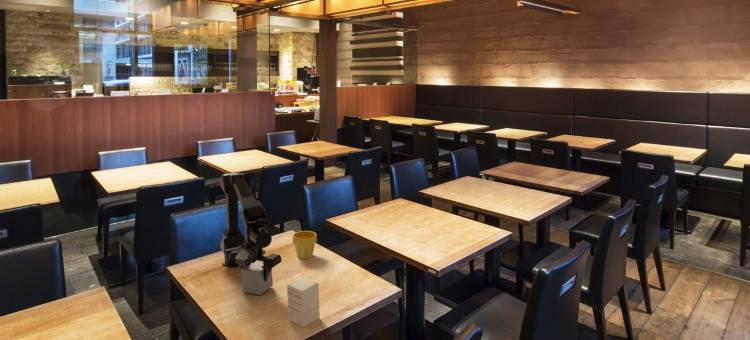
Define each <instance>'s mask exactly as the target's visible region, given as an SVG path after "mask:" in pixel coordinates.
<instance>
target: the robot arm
mask: <svg viewBox="0 0 750 340" xmlns="http://www.w3.org/2000/svg"><path fill="white" fill-rule="evenodd" d="M219 186H220V188H221V189H222V191H223V192H224V194H225V209H226V210H225V211H226V213H225V214H226V228H225V229H224V231H223V233H222V238H221V241H220V244H219V246H220V250H221V252H222V253H223V254H224V262H223V263H222V265H223V266H228V267H233V268H236V267H237V266H238V267H239V266H240V268H241V269H242V268H244V267H248V266H249V265H250V264H251V263H255V261H259V262H263V266H262V268H263V270H264V281H265V282H266V281H267V280H268V277H269V275H270V272H271V270H272V269H273V268H275V267H276V266H278V265H279V264H280V263H282V256H281V255H280V254H277V253H270V254H268V255H264V254H266V250H265V248H267V247H268V246H270V245H271V243H272V240H273V237H272V235H271V234H270V232H268V231H267V229H266V227H265V226H269V218H268V215H267V212H266V209H265V208H264V206H263V205H262V204H261V202H260V201H259V200H257V199H256V198H254V196H253V194H252V192H251V189H250V188H249V185H248V184H247V181H246V175H245V174H244V173H241V172H240V173H239V172H238V171H237V172H231V173H223V174H221V176H220V177H219ZM239 202H240V206H241V209H240V218H241V220H242V223H243V225H244V228H245V229H244V230H245V236H244V233H243V232H242V231H241V230H240V226H239V223H240V222H239Z"/></svg>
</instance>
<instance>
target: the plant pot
mask: <svg viewBox="0 0 750 340" xmlns="http://www.w3.org/2000/svg"><path fill="white" fill-rule="evenodd" d="M317 236H318V235H317V233H316V232H314V231H310V230H302V231H301V230H299V231H297V232H294V233H293V234H292V243H293V244H294V248H295V252H296V256H297V259H301V260H306V259H307V258H308V259H310V258H312V257H313V255H314V251H315V245H316V243H317V242H318V241H317V240H318V239H317V238H318V237H317Z"/></svg>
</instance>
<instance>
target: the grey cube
mask: <svg viewBox="0 0 750 340" xmlns="http://www.w3.org/2000/svg"><path fill="white" fill-rule="evenodd" d="M262 266H263V261H258V260H256V261H255V263H251V264H250V265H249V266H248V267H244V268H241V269H240V276H241V285H242V287H241V288H242V292H244V293H249V294H252V295H258V296H262V295H263V294H264V293H265V292H267V291H268V290H270V288H272V287H273V285H274V283H273V281H274V280H273V271H272V270H271V272H270V275H269V277H268V280H267V281H266V282H265V281H264V270H263V268H262Z"/></svg>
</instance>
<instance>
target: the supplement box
mask: <svg viewBox="0 0 750 340" xmlns="http://www.w3.org/2000/svg"><path fill="white" fill-rule="evenodd" d="M319 290H320V289H319V282H317V281H315V280H312V279H310V278H307V277H305V276H303V277H301V278H298V279H296V280H294V281H292V282H290V283H287V284H286V291H287V292H286V293H287V294H286V295H287V308H288V309H287V311H288V314H287V315H288V320H289V321H291V322H292V323H293V324H296V325H299V326H300V327H302V328H305V327H307V326H308V325H310V324H312V323H313V322H316V321H317V320H318V319H321V316H320V314H321V313H320V293H319V292H320V291H319Z"/></svg>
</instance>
